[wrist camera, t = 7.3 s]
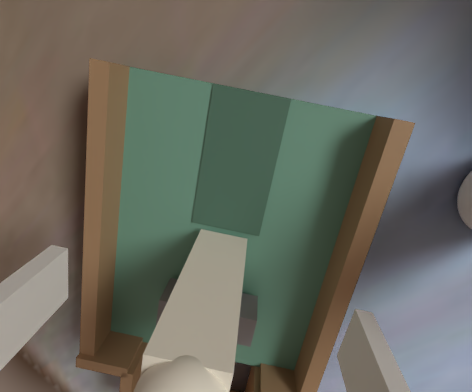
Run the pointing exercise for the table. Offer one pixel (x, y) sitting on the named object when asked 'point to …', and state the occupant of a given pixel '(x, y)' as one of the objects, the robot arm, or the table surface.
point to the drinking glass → (465, 200)
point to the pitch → (227, 213)
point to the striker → (201, 320)
